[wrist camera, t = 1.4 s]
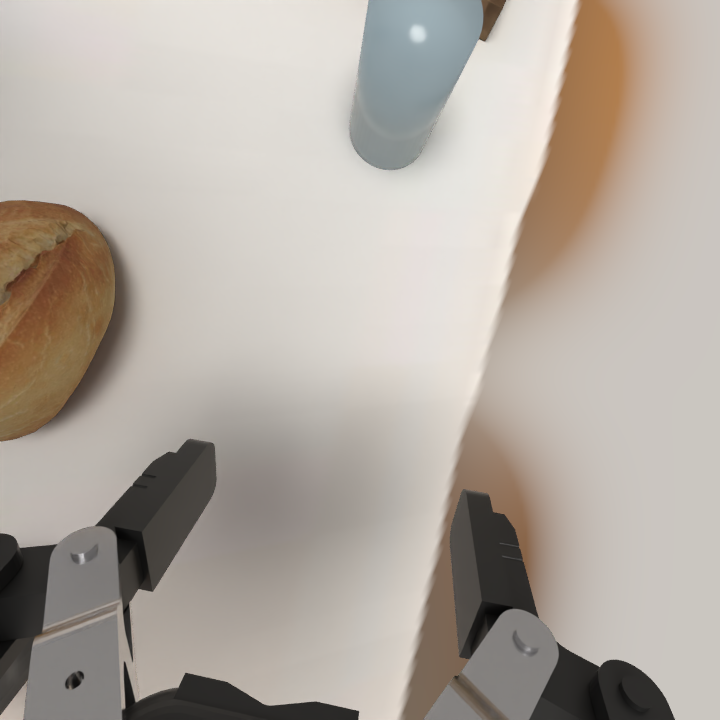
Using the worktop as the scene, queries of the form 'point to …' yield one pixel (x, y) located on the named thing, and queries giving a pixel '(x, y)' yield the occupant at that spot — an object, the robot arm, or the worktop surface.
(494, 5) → the tray
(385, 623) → the worktop surface
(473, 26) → the blue rounded capsule
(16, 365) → the bread roll
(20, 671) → the beverage cup
